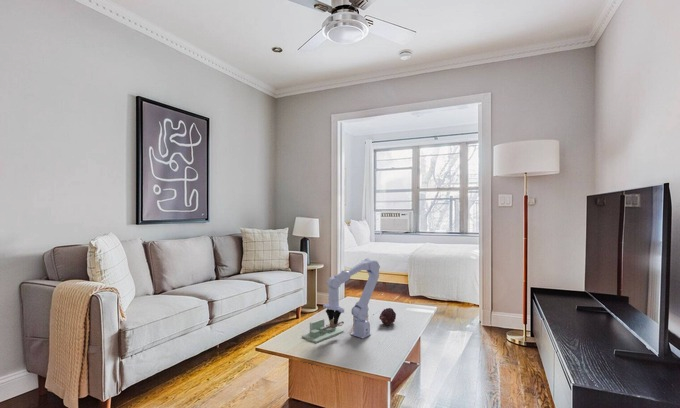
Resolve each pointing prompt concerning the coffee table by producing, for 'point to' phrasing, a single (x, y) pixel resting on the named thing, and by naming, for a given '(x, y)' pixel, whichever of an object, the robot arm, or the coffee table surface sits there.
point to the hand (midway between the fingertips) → (333, 322)
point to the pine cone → (388, 316)
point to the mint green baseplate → (320, 332)
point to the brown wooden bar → (333, 325)
